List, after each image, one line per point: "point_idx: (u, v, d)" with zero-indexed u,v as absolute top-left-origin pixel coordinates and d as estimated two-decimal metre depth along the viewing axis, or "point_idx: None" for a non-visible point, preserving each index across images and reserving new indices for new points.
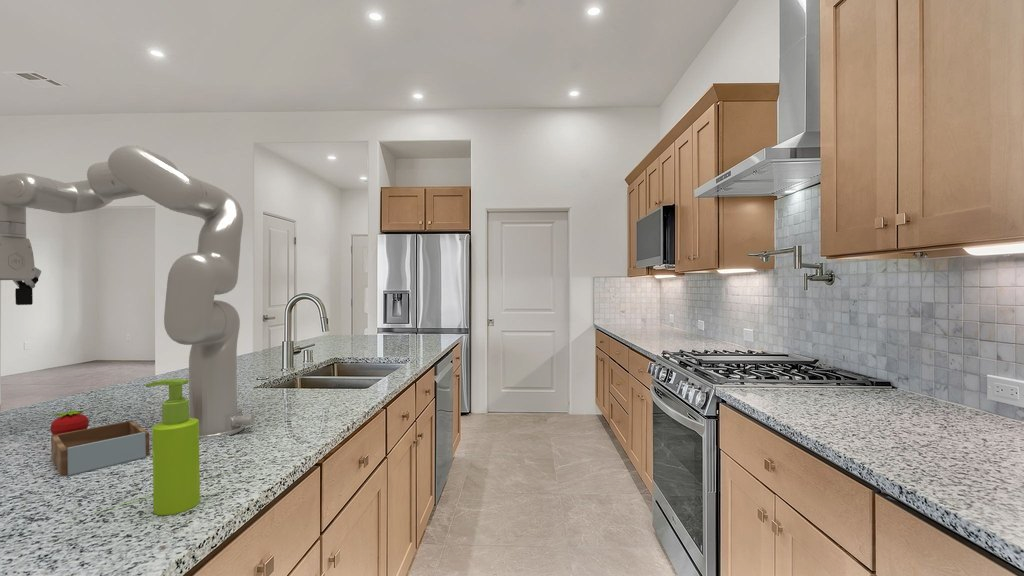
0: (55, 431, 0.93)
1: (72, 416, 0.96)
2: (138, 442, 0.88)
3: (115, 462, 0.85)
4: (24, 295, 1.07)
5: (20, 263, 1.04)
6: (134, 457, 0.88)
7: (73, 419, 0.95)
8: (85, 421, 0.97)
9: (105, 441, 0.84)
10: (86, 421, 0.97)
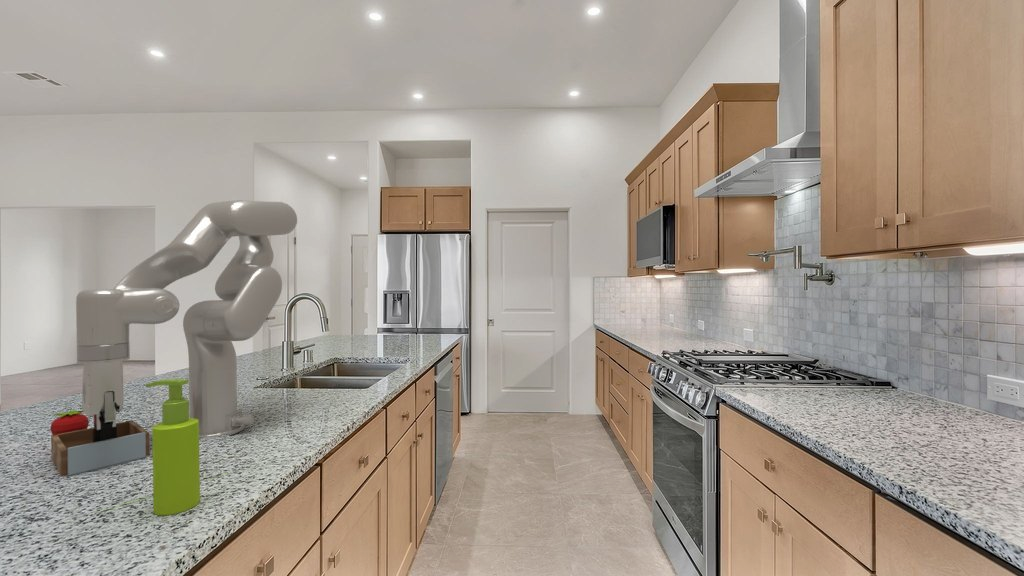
0: (55, 431, 0.93)
1: (72, 416, 0.96)
2: (138, 442, 0.88)
3: (115, 462, 0.85)
4: None
5: (85, 395, 0.83)
6: (134, 457, 0.88)
7: (73, 419, 0.95)
8: (85, 421, 0.97)
9: (105, 441, 0.84)
10: (86, 421, 0.97)
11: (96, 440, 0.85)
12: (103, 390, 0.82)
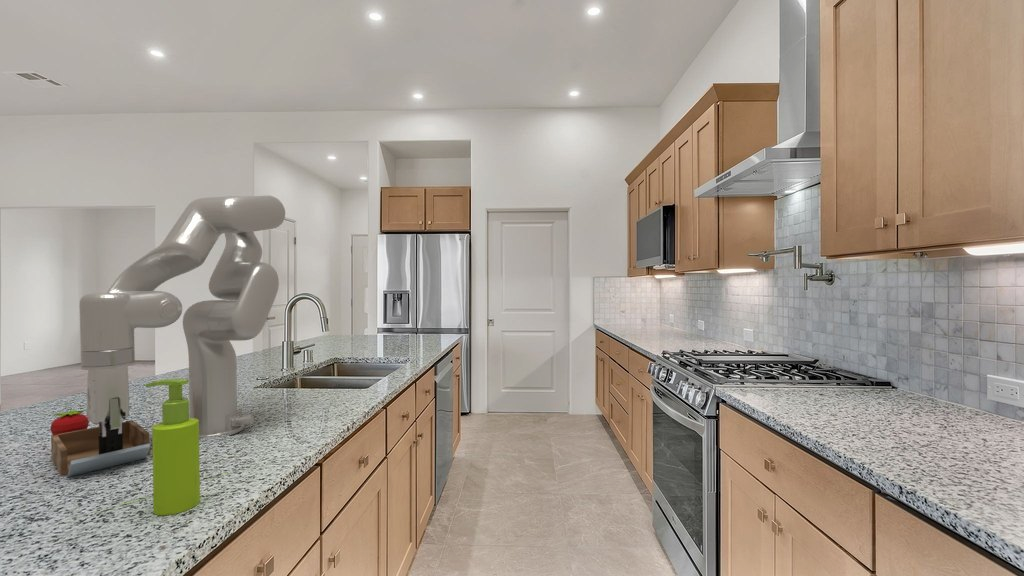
0: (55, 431, 0.93)
1: (72, 416, 0.96)
2: (141, 452, 0.87)
3: None
4: None
5: (90, 402, 0.81)
6: (134, 460, 0.88)
7: (73, 419, 0.95)
8: (85, 421, 0.97)
9: (109, 455, 0.82)
10: (86, 421, 0.97)
11: (102, 447, 0.83)
12: (108, 397, 0.80)
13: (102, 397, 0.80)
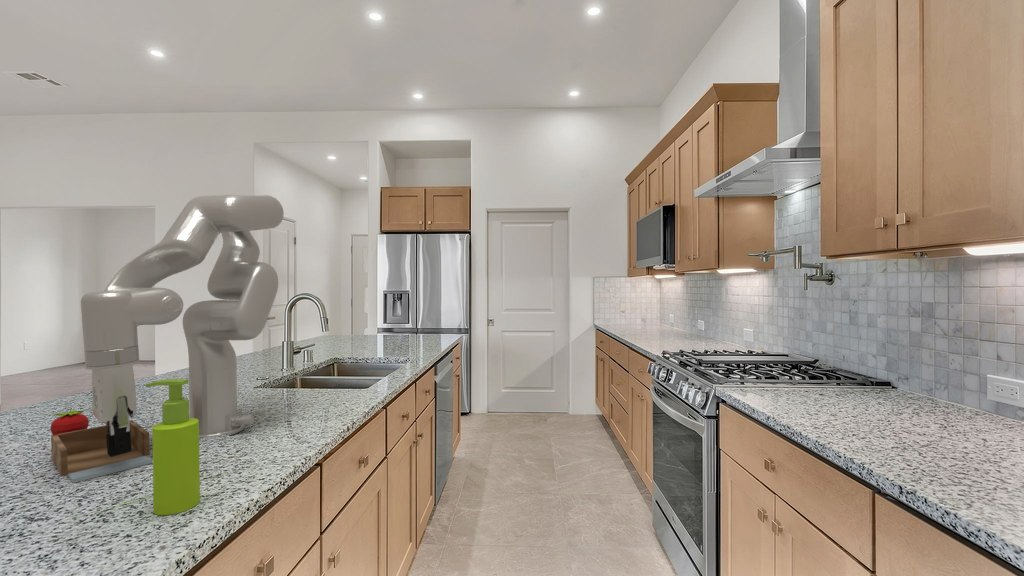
0: (55, 431, 0.93)
1: (72, 416, 0.96)
2: None
3: None
4: None
5: (96, 401, 0.81)
6: None
7: (73, 419, 0.95)
8: (85, 421, 0.97)
9: (110, 473, 0.82)
10: (86, 421, 0.97)
11: (110, 445, 0.83)
12: (115, 396, 0.80)
13: (109, 396, 0.79)
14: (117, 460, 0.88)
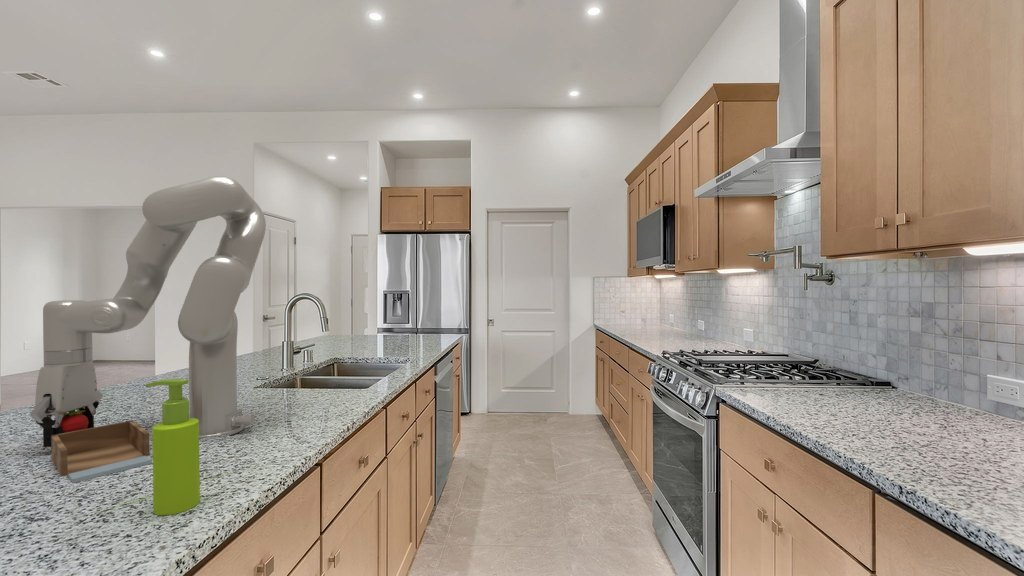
0: None
1: (72, 416, 0.96)
2: None
3: None
4: None
5: None
6: None
7: (73, 419, 0.95)
8: (85, 421, 0.97)
9: (110, 473, 0.82)
10: (86, 421, 0.97)
11: None
12: (43, 392, 0.91)
13: (38, 392, 0.91)
14: (117, 460, 0.88)
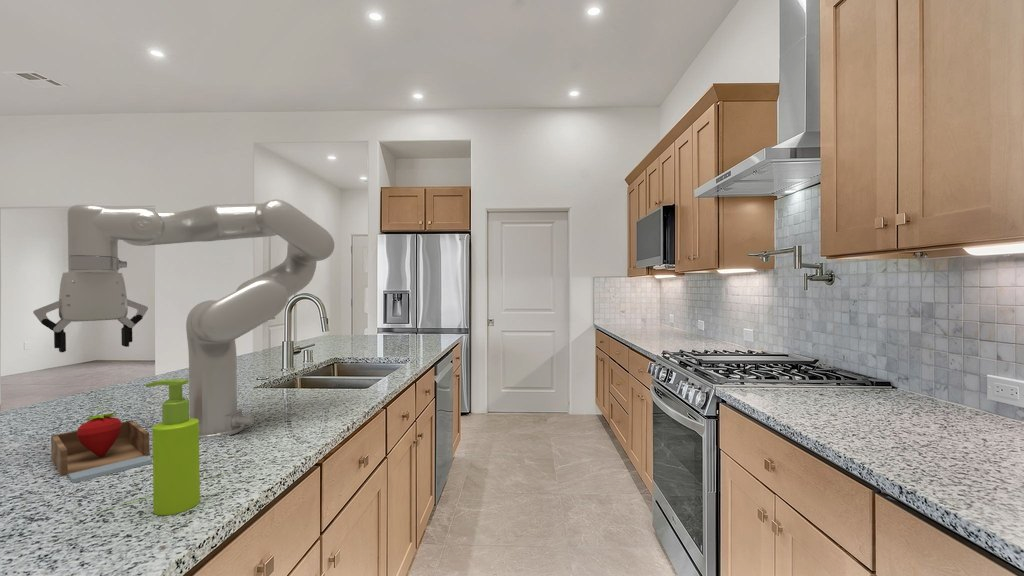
0: (77, 435, 0.87)
1: (96, 420, 0.89)
2: None
3: None
4: None
5: None
6: None
7: (91, 424, 0.87)
8: (105, 427, 0.88)
9: (110, 473, 0.82)
10: (108, 427, 0.89)
11: None
12: (59, 297, 0.89)
13: (59, 296, 0.90)
14: (117, 460, 0.88)
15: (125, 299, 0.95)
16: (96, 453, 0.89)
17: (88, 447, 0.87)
